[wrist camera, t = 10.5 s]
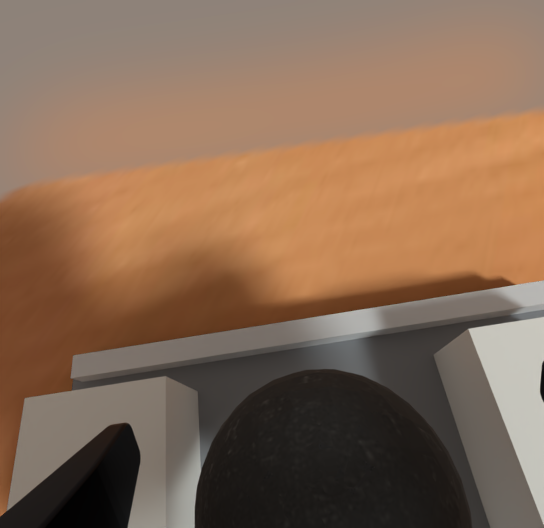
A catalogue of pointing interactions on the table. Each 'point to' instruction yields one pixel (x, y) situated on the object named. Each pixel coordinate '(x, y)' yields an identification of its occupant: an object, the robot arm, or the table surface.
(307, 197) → the table surface
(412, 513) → the black light bulb
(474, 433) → the board
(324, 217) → the table surface
